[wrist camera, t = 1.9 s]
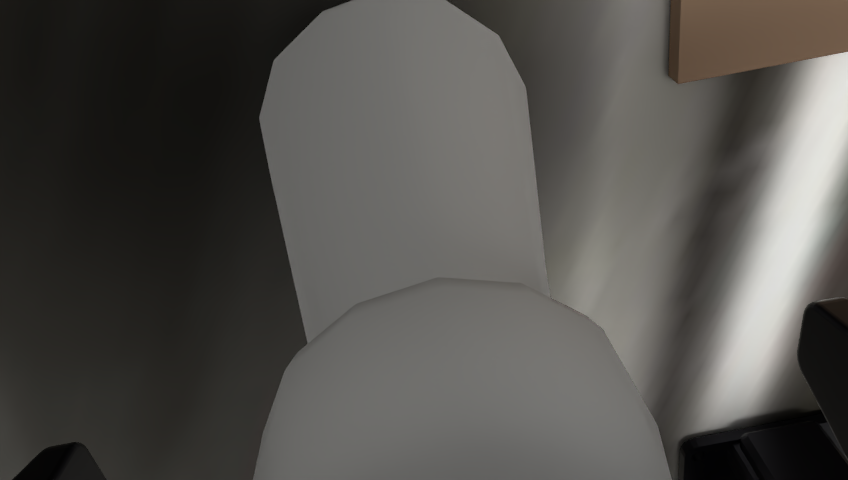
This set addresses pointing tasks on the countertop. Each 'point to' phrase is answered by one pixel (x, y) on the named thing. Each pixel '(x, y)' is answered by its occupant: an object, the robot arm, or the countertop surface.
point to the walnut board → (751, 34)
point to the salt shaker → (428, 269)
